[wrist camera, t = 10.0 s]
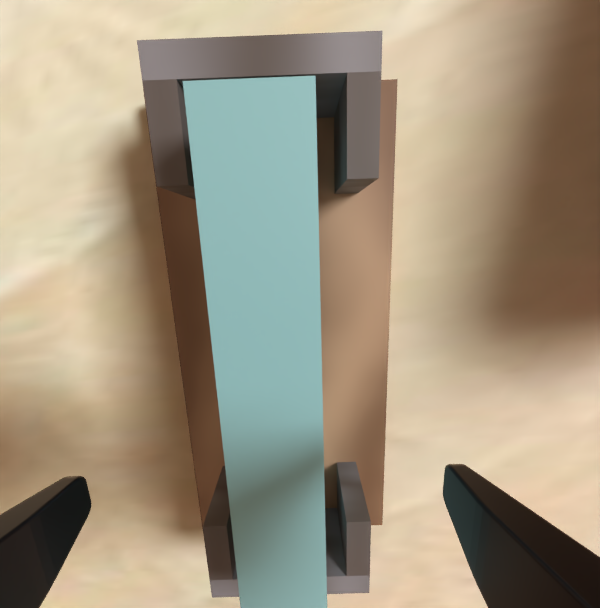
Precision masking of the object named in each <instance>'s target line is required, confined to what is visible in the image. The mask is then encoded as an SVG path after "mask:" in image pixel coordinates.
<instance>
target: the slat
mask: <svg viewBox="0 0 600 608" xmlns="http://www.w3.org/2000/svg"><path fill="white" fill-rule="evenodd" d="M183 89H184V98H185V107H186V116H187V125H188V134H189V143H190V152H191V161H192V170H193V179H194V188H195V197H196V207H197V216H198V225H199V234H200V243H201V252H202V261H203V270H204V279H205V288H206V297H207V306H208V315H209V325H210V334H211V343H212V352H213V361H214V370H215V379H216V388H217V397H218V406H219V415H220V424H221V433H222V443H223V452H224V461H225V470H226V479H227V488H228V497H229V506H230V515H231V524H232V533H233V542H234V551H235V561H236V570H237V579H238V588H239V597H240V606H241V608H327V575H326V529H325V484H324V438H323V393H322V348H321V302H320V257H319V211H318V166H317V121H316V76H293V77H269V78H244V79H220V80H196V81H183Z"/></svg>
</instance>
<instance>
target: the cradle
mask: <svg viewBox="0 0 600 608" xmlns="http://www.w3.org/2000/svg"><path fill="white" fill-rule="evenodd" d="M137 44H138V51H139V59H140V66H141V74H142V81H143V88H144V89H143V90H144V98H145V105H146V113H147V120H148V127H149V135H150V142H151V150H152V157H153V164H154V172H155V179H156V187H157V194H158V201H159V209H160V216H161V224H162V231H163V238H164V246H165V253H166V261H167V268H168V275H169V283H170V290H171V298H172V305H173V312H174V320H175V327H176V335H177V342H178V349H179V357H180V364H181V372H182V379H183V386H184V394H185V401H186V409H187V416H188V423H189V431H190V438H191V446H192V453H193V461H194V468H195V475H196V483H197V490H198V498H199V505H200V512H201V520H202V527H203V533H204V541H205V548H206V556H207V563H208V570H209V578H210V585H211V593H212V597H239V588H238V579H237V570H236V561H235V551H234V542H233V533H232V524H231V515H230V506H229V497H228V488H227V479H226V470H225V461H224V452H223V443H222V433H221V424H220V415H219V406H218V397H217V388H216V379H215V370H214V361H213V352H212V343H211V334H210V325H209V315H208V306H207V297H206V288H205V279H204V270H203V261H202V252H201V243H200V234H199V225H198V216H197V207H196V197H195V188H194V179H193V170H192V161H191V152H190V143H189V134H188V125H187V116H186V107H185V98H184V89H183V81H196V80H220V79H244V78H269V77H293V76H316V121H317V166H318V211H319V257H320V302H321V348H322V393H323V438H324V484H325V529H326V575H327V594H343V593H369V578H370V535H371V525H382V516H383V486H384V457H385V428H386V398H387V369H388V340H389V310H390V281H391V252H392V222H393V193H394V163H395V134H396V105H397V79H395V80H381V64H382V31H365V32H340V33H314V34H288V35H263V36H237V37H212V38H186V39H160V40H137Z"/></svg>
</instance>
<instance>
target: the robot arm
mask: <svg viewBox="0 0 600 608" xmlns="http://www.w3.org/2000/svg"><path fill="white" fill-rule="evenodd" d="M443 497H444V501H445V504H446V507H447V509H448V512H449V515H450V517H451V520H452V522H453V525H454V528H455V530H456V533H457V535H458V538H459V541H460V543H461V546H462V548H463V551H464V554H465V556H466V559H467V561H468V564H469V566H470V569H471V571H472V574H473V576H474V579H475V581H476V583H477V585H478V587H479V589H480V592H481V594H482V596H483V598H484V600H485V602H486V604H487V606H488V608H600V557H599V556H597V555H596V554H594V553H593V552H591V551H590V550H589V549H587V548H586V547H584V546H583V545H581V544H580V543H578V542H577V541H575V540H574V539H572V538H571V537H570V536H568V535H567V534H565V533H564V532H562V531H561V530H559V529H558V528H556V527H555V526H553V525H552V524H551V523H549V522H548V521H546V520H545V519H543V518H542V517H540V516H539V515H537V514H536V513H535V512H533V511H532V510H530V509H529V508H527V507H526V506H524V505H523V504H521V503H520V502H518V501H517V500H516V499H514V498H513V497H511V496H510V495H508V494H507V493H505V492H504V491H502V490H501V489H499V488H498V487H497V486H495V485H494V484H492V483H491V482H489V481H488V480H486V479H485V478H483V477H482V476H480V475H479V474H478V473H476V472H475V471H473V470H472V469H470V468H469V467H467V466H466V465H463V464H449V465H447V466H446V467H445V474H444V485H443ZM90 509H91V499H90V495H89V491H88V486H87V482H86V479H85V478H84V477H82V476H69V477H65V478H62V479H61V480H59V481H57V482H55V483H54V484H52V485H50V486H49V487H47V488H45V489H44V490H42V491H40V492H38V493H37V494H35V495H33V496H32V497H30V498H28V499H26V500H25V501H23V502H21V503H20V504H18V505H16V506H15V507H13V508H11V509H9V510H8V511H6V512H4V513H3V514H1V515H0V608H39V607H40V606H41V604H42V602H43V600H44V599H45V597H46V595H47V594H48V592H49V590H50V588H51V586H52V585H53V583H54V581H55V579H56V577H57V575H58V573H59V571H60V569H61V567H62V566H63V564H64V562H65V560H66V558H67V556H68V554H69V552H70V550H71V548H72V546H73V544H74V542H75V540H76V538H77V536H78V534H79V532H80V530H81V529H82V527H83V525H84V523H85V521H86V519H87V517H88V515H89V512H90Z"/></svg>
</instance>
